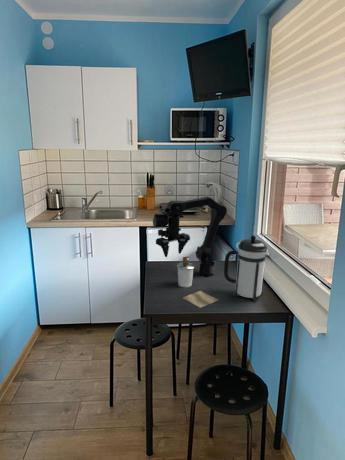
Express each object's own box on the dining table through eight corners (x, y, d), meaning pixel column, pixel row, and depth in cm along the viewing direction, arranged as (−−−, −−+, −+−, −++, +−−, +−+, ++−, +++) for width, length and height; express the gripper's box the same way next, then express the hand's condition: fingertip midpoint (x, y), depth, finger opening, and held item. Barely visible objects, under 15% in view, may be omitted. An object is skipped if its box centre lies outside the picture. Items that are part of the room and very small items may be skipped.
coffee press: (255, 287, 167) (260, 229, 159) (269, 302, 151) (276, 239, 143) (222, 289, 164) (226, 230, 156) (233, 304, 148) (238, 240, 140)
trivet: (200, 291, 160) (200, 290, 160) (218, 300, 152) (218, 299, 152) (182, 298, 153) (182, 297, 153) (200, 308, 144) (200, 307, 144)
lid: (185, 261, 171) (186, 253, 169) (198, 267, 164) (198, 258, 163) (172, 266, 165) (173, 257, 163) (185, 271, 158) (186, 262, 157)
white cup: (191, 289, 163) (192, 270, 160) (175, 287, 164) (176, 268, 161) (193, 282, 170) (194, 264, 167) (178, 281, 172) (179, 263, 169)
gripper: (177, 220, 178) (176, 247, 183) (149, 225, 167) (149, 254, 171) (191, 224, 170) (190, 253, 174) (163, 230, 159) (162, 260, 163)
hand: (172, 255), depth 171 cm, fingers open, 9 cm apart
